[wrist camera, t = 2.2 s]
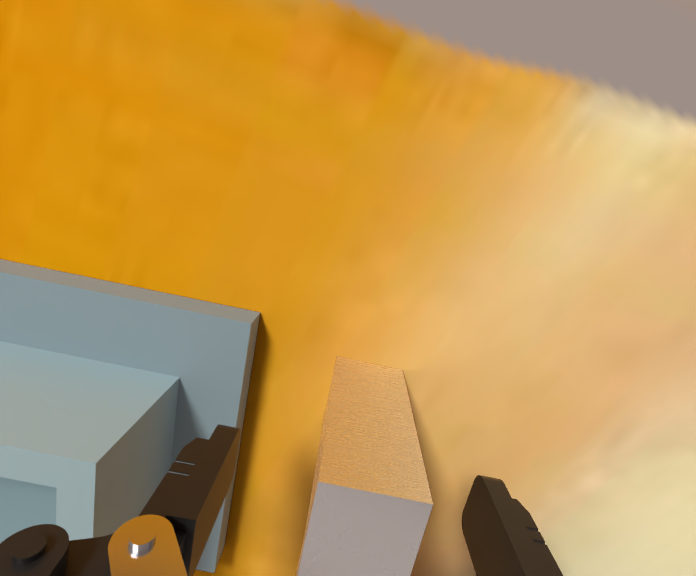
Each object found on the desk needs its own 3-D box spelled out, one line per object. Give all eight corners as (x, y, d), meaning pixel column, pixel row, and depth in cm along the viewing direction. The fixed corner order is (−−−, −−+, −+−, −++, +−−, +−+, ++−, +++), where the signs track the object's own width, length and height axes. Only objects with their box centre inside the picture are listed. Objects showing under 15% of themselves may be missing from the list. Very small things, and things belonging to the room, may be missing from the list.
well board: (260, 312, 18) (197, 389, 11) (224, 546, 21) (159, 715, 14) (-85, 241, 17) (-373, 274, 10) (-64, 491, 21) (-269, 636, 14)
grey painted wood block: (402, 369, 18) (433, 504, 10) (375, 473, 20) (383, 658, 12) (337, 356, 18) (318, 481, 10) (314, 461, 20) (283, 639, 12)
